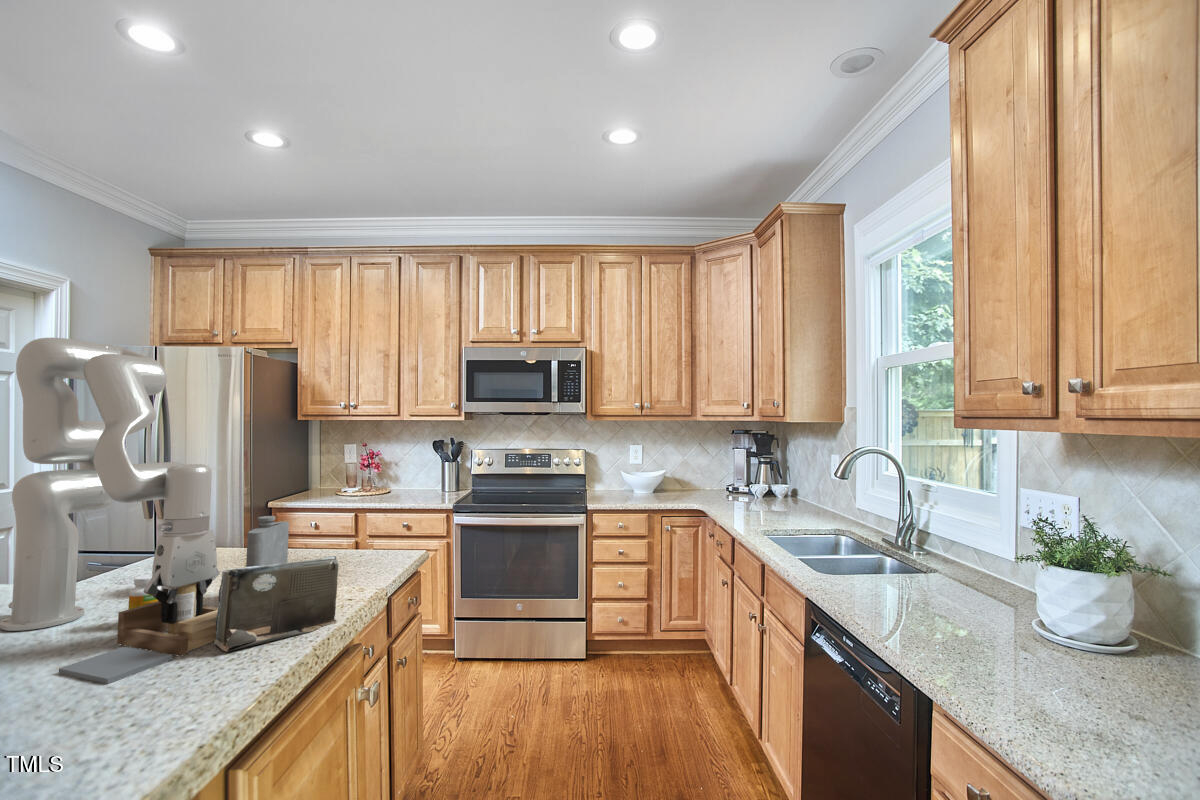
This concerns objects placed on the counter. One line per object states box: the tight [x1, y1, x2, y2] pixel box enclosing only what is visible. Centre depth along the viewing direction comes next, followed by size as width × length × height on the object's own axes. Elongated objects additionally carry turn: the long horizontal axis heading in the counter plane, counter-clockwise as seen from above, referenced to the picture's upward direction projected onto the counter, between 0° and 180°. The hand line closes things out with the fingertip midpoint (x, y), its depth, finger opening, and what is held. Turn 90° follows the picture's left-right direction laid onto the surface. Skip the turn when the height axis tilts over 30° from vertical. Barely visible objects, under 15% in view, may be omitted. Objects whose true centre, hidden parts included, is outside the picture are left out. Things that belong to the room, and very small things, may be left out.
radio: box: [213, 555, 339, 653], centre depth 112 cm, size 23×9×15 cm, turn 137°
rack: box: [116, 601, 218, 657], centre depth 110 cm, size 17×15×6 cm
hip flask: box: [245, 515, 290, 567], centre depth 133 cm, size 16×4×20 cm, turn 6°
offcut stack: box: [177, 610, 218, 652], centre depth 108 cm, size 4×11×4 cm, turn 162°
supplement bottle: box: [127, 574, 161, 610], centre depth 116 cm, size 5×5×10 cm
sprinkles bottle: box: [167, 583, 197, 635], centre depth 111 cm, size 5×5×14 cm
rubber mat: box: [58, 646, 173, 685], centre depth 96 cm, size 12×10×1 cm
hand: (182, 617), depth 110 cm, fingers closed on sprinkles bottle, 4 cm apart
